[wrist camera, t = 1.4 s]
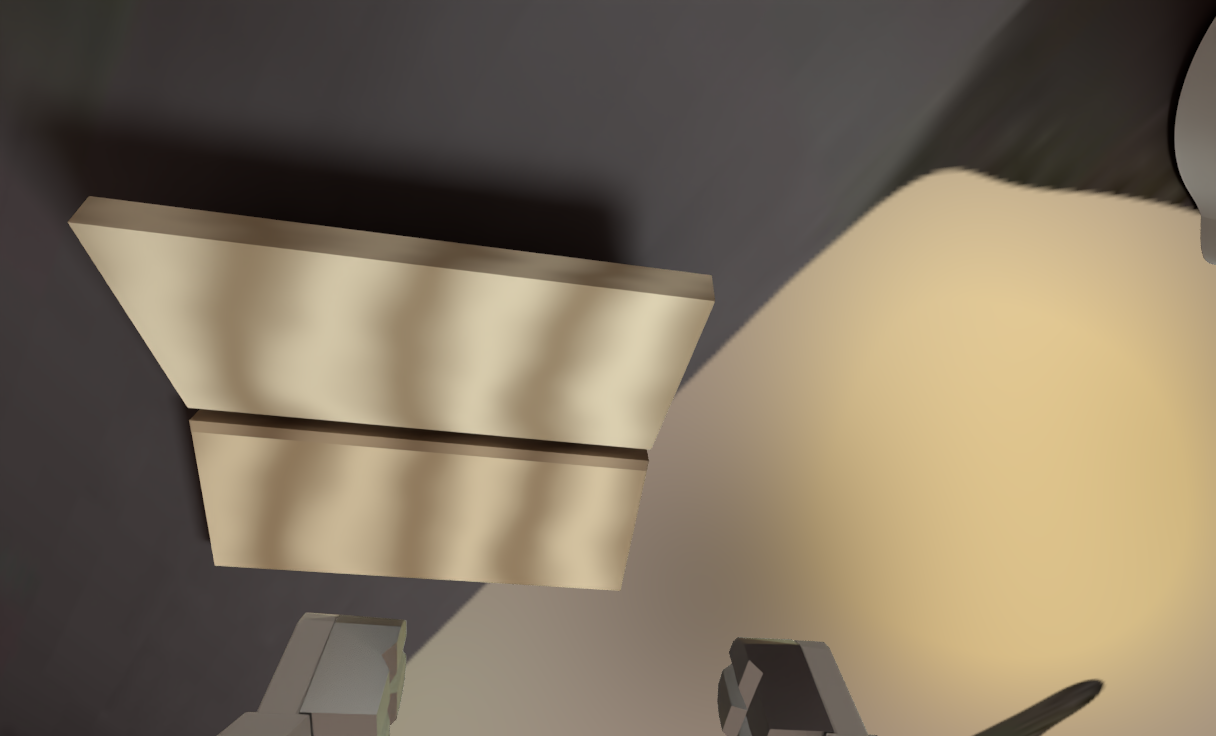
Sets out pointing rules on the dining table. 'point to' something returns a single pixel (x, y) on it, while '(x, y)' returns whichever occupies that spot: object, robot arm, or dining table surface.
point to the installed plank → (415, 501)
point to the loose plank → (398, 325)
